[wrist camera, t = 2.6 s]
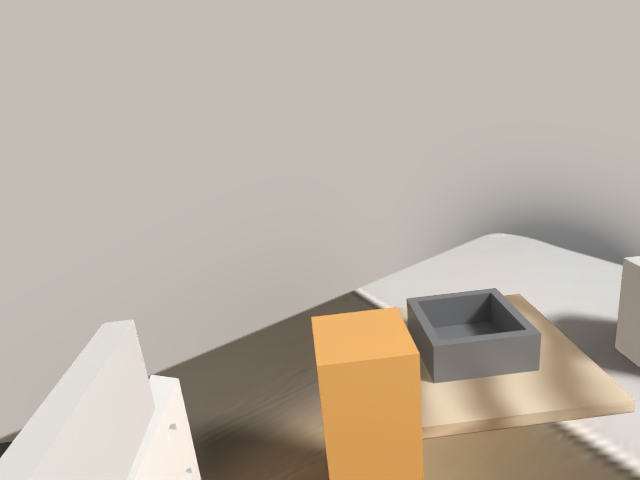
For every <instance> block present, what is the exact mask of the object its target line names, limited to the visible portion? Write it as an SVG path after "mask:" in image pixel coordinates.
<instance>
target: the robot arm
mask: <svg viewBox="0 0 640 480" xmlns="http://www.w3.org/2000/svg"><path fill="white" fill-rule="evenodd" d="M615 348H616V349H617V350H618V351H620V352H621V353H622V354H623V355H625V356H626V357H627V358H628V359H630V360H631V361H632V362H633V363H635V364H636V365H637V366H638V367H640V256H637V257H629V258H624V262H623V271H622V282H621V292H620V302H619V312H618V322H617V332H616V342H615ZM154 411H155V404H154V400H153V396H152V392H151V388H150V384H149V380H148V376H147V372H146V368H145V364H144V360H143V356H142V352H141V348H140V345H139V340H138V336H137V332H136V328H135V325H134V320H133V319H132V320H124V321H116V322H108V323H103V325H102V326H101V327H100V328H99V330H98V331H97V332H96V334H95V335H94V336H93V338H92V339H91V340H90V342H89V343H88V344H87V345H86V347H85V348H84V349H83V351H82V352H81V353H80V355H79V356H78V357H77V359H76V360H75V361H74V362H73V364H72V365H71V366H70V368H69V369H68V370H67V372H66V373H65V374H64V376H63V377H62V378H61V380H60V381H59V382H58V383H57V385H56V386H55V387H54V389H53V390H52V391H51V392H50V394H49V395H48V396H47V398H46V399H45V400H44V402H43V403H42V404H41V406H40V407H39V408H38V410H37V411H36V412H35V414H34V415H33V416H32V417H31V419H30V420H29V421H28V423H27V424H26V425H25V426H24V428H23V429H22V430H21V432H20V433H19V434H18V436H17V437H16V438H15V440H14V441H13V442H6V443H0V480H127V478H128V475H129V473H130V470H131V468H132V465H133V463H134V460H135V458H136V455H137V453H138V450H139V448H140V445H141V443H142V441H143V438H144V436H145V433H146V431H147V428H148V426H149V423H150V421H151V418H152V416H153V413H154Z"/></svg>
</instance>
